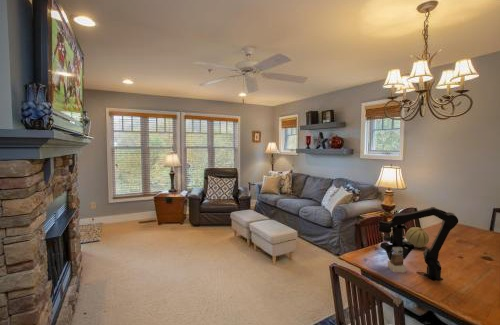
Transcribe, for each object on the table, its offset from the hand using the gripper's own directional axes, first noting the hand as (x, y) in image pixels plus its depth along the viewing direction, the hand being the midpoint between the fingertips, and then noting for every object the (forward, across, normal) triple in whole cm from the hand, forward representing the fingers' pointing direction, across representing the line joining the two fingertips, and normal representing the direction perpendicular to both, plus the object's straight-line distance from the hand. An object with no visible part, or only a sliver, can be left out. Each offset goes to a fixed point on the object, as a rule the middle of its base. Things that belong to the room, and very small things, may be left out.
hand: (396, 259), depth 155 cm
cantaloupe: (+6, -38, -30) cm, 49 cm away
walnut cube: (+3, 0, 0) cm, 3 cm away
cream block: (+7, 0, 0) cm, 7 cm away
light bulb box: (+7, -19, -23) cm, 31 cm away
